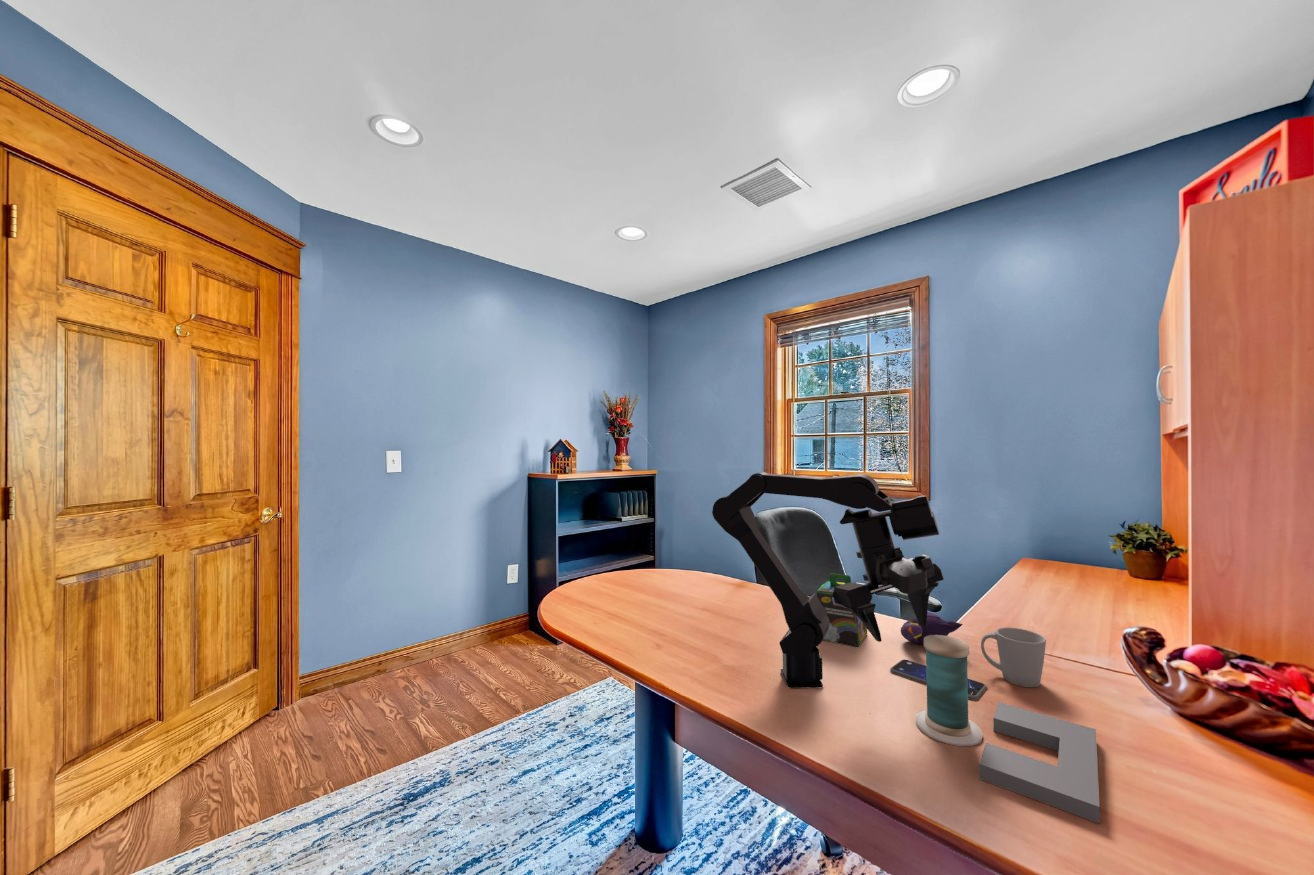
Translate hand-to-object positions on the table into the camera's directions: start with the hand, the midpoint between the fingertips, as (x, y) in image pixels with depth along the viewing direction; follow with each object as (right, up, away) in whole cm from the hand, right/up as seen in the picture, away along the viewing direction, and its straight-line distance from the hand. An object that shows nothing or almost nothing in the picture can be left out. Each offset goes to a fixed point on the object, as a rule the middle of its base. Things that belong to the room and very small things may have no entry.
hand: (901, 633), depth 84 cm
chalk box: (+1, -12, +28) cm, 31 cm away
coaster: (+4, -12, -8) cm, 15 cm away
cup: (+25, -12, +8) cm, 29 cm away
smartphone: (+11, -12, +8) cm, 18 cm away
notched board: (+12, -12, -15) cm, 23 cm away
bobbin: (+4, -11, -8) cm, 14 cm away
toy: (+18, -12, +23) cm, 32 cm away
